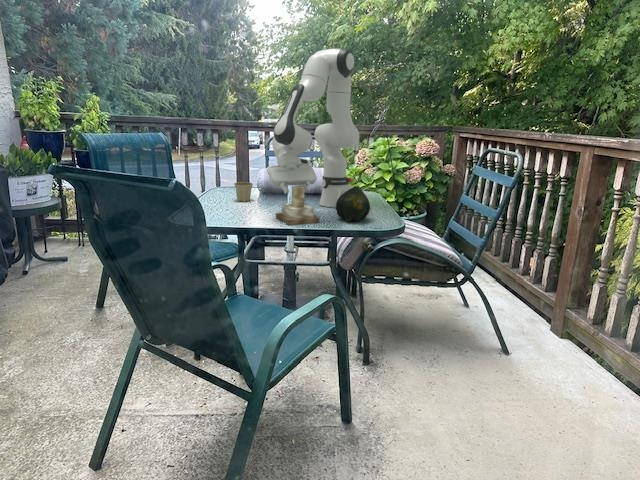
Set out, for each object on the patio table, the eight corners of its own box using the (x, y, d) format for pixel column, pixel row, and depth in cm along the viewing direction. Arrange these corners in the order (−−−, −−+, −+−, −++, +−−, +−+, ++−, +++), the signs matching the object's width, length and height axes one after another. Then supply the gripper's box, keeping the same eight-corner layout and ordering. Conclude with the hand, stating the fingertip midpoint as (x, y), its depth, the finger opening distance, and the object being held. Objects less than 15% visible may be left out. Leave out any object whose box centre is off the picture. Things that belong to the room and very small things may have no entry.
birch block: (300, 205, 189) (300, 186, 187) (304, 206, 186) (304, 187, 184) (291, 205, 187) (291, 186, 185) (295, 207, 184) (295, 188, 182)
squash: (330, 210, 184) (356, 183, 182) (328, 204, 198) (352, 179, 196) (355, 233, 186) (380, 207, 184) (351, 226, 201) (375, 201, 199)
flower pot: (257, 200, 227) (257, 183, 225) (244, 203, 220) (244, 185, 217) (243, 198, 232) (242, 181, 230) (230, 200, 224) (229, 183, 222)
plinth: (305, 215, 197) (306, 202, 196) (319, 222, 185) (320, 208, 184) (275, 217, 191) (275, 203, 190) (288, 225, 179) (288, 210, 178)
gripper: (267, 161, 184) (275, 188, 179) (312, 160, 193) (322, 186, 187) (264, 170, 189) (272, 197, 184) (308, 169, 198) (317, 195, 192)
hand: (297, 192), depth 186 cm, fingers open, 8 cm apart
